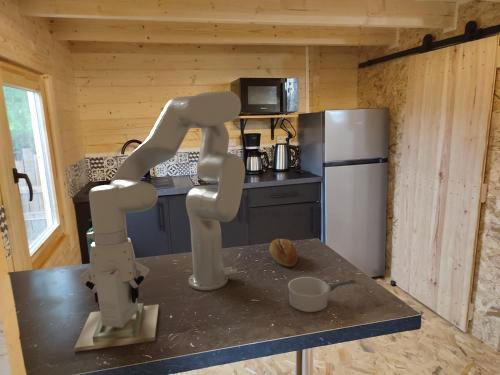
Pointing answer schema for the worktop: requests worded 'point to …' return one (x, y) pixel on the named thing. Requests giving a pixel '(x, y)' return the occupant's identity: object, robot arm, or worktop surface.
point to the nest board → (119, 330)
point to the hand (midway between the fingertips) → (118, 301)
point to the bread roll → (284, 252)
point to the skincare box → (114, 299)
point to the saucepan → (311, 293)
